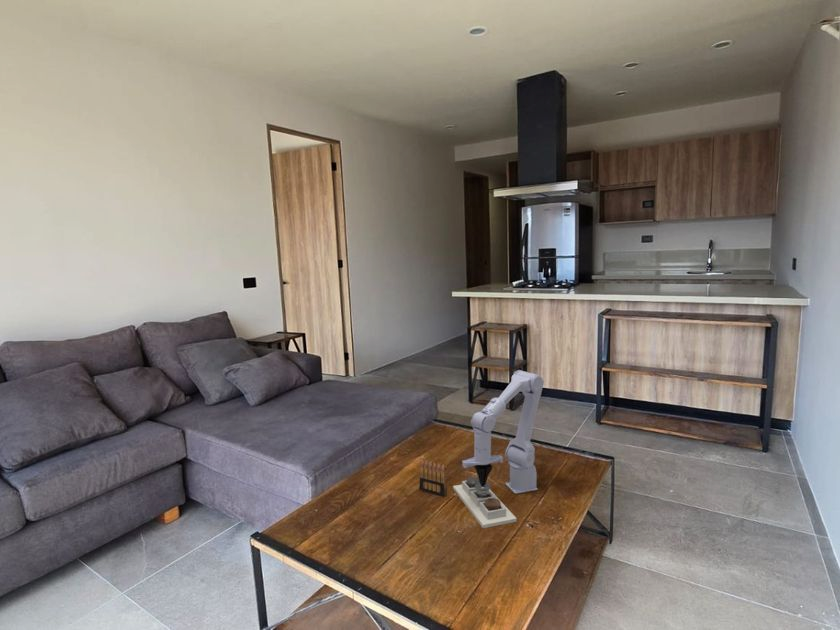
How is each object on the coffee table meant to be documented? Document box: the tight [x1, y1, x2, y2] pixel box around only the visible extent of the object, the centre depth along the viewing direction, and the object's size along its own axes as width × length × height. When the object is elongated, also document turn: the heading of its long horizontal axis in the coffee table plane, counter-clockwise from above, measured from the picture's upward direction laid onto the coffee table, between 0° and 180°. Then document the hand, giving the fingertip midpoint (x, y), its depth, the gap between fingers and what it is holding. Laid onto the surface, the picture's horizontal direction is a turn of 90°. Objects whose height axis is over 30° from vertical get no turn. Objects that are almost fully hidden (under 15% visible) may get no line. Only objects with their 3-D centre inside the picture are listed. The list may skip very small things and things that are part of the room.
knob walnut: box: [485, 498, 501, 511], centre depth 157 cm, size 5×5×4 cm
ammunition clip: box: [418, 459, 447, 498], centre depth 173 cm, size 11×2×12 cm, turn 59°
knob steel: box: [475, 481, 491, 498], centre depth 164 cm, size 5×5×4 cm
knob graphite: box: [466, 476, 479, 488], centre depth 172 cm, size 5×5×4 cm
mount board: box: [452, 479, 517, 529], centre depth 165 cm, size 12×27×4 cm, turn 17°
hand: (482, 484), depth 164 cm, fingers closed
